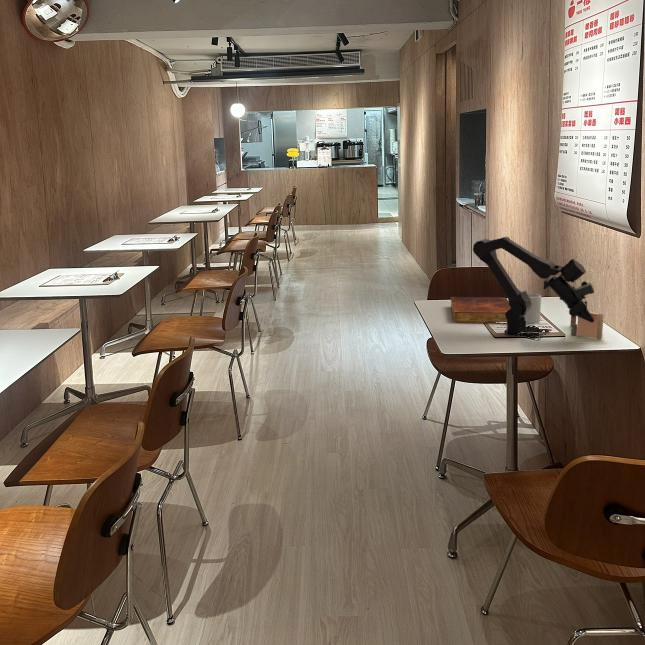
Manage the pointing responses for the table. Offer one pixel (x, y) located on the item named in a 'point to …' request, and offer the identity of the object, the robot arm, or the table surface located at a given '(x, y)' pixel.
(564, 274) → the robot arm
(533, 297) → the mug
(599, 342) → the card
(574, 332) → the fence frame
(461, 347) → the table surface
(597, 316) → the block
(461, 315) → the book
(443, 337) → the table surface
